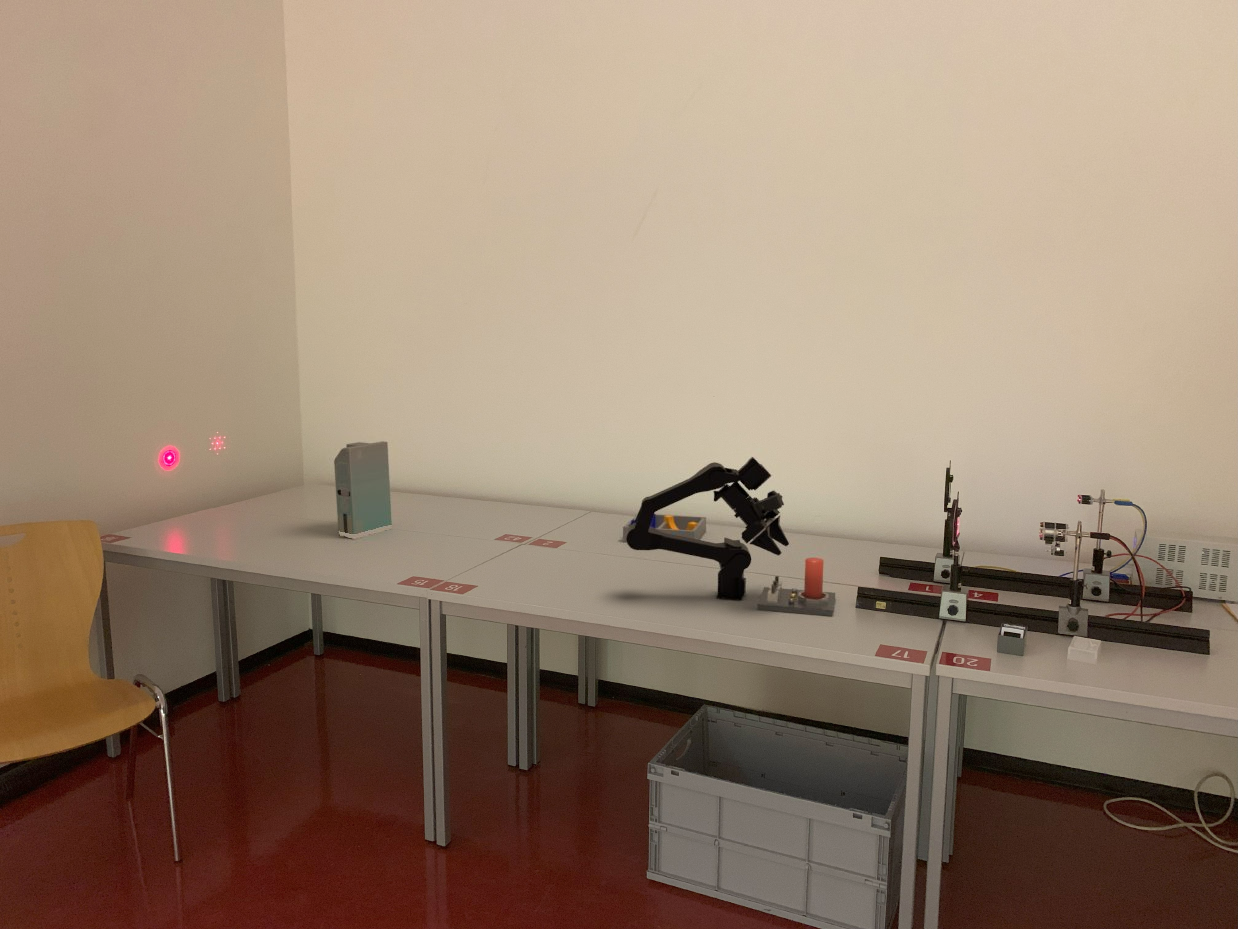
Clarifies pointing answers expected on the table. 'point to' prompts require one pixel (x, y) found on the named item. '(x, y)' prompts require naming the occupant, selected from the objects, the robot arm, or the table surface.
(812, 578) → the cap
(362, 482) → the device
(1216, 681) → the table surface
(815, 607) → the grey fixture base plate
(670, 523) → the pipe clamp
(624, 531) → the parts tray
